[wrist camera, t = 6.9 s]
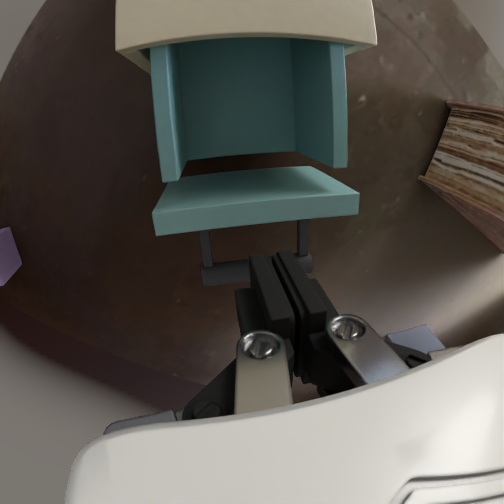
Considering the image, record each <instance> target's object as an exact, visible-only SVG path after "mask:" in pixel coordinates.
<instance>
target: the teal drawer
mask: <svg viewBox="0 0 504 504" xmlns="http://www.w3.org/2000/svg"><path fill="white" fill-rule="evenodd" d="M150 65H151V81H152V95H153V107H154V118H155V128H156V137H157V146H158V154H159V162H160V170H161V177H162V182H164V183H166V182H169V183H168V185H167V186H166V188H165V190H164V192H163V194H162V195H161V197H160V199H159V201H158V203H157V205H156V207H155V208H154V210H153V212H152V218H153V223H154V228H155V233H156V236H160V235H168V234H176V233H184V232H192V231H198V232H199V239H200V246H201V253H202V260H203V264H202V265H201V277H202V283H203V286H204V287H205V286H213V285H222V284H230V283H238V282H246V281H250V271H249V259H244V260H235V261H227V262H219V263H213V258H212V250H211V243H210V235H209V229H217V228H225V227H234V226H243V225H252V224H262V223H271V222H281V221H291V220H297V253H293V254H294V256H295V257H296V259H297V261H298V262H299V264H300V266H301V267H302V269H303V270H304V272H305V273H311V272H312V268H313V263H312V258H311V255H310V253H309V252H308V236H309V219H312V218H323V217H334V216H345V215H357V214H358V210H359V195H360V194H359V193H358V192H356V191H355V190H353V189H351V188H349V187H348V186H346V185H344V184H343V183H341V182H339V181H337V180H335V179H334V178H332V177H330V176H328V175H326V174H325V173H323V172H321V171H319V170H317V169H315V168H313V167H311V166H299V167H281V168H266V169H253V170H242V171H231V172H221V173H212V174H203V175H195V176H187V177H180V176H181V173H182V171H183V169H184V167H185V164H186V162H187V160H195V159H203V158H212V157H222V156H232V155H243V154H256V153H272V152H292V151H297V152H299V153H301V154H304V155H306V156H308V157H310V158H313V159H315V160H317V161H319V162H322V163H324V164H326V165H328V166H330V167H332V168H347V94H346V74H345V59H344V46H343V43H339V42H331V41H323V40H313V39H301V38H283V37H236V38H218V39H206V40H196V41H187V42H180V43H173V44H166V45H160V46H155V47H150ZM268 257H269V258H270V261H271V263H272V256H268Z"/></svg>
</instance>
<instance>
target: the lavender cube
mask: <svg viewBox="0 0 504 504" xmlns="http://www.w3.org/2000/svg"><path fill="white" fill-rule="evenodd" d="M21 265H22V261H21V259H20V256H19V253H18V250H17V247H16V244H15V241H14V238H13V235H12V232H11V229H10V227H7V228H3V229H0V286H3V285H4V284H5V283H6V282H7V281H8V280H9V278H10V277H11V276H12V275H13V274H14V273H15V272H16V271H17V270H18V268H19V267H20V266H21Z"/></svg>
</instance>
